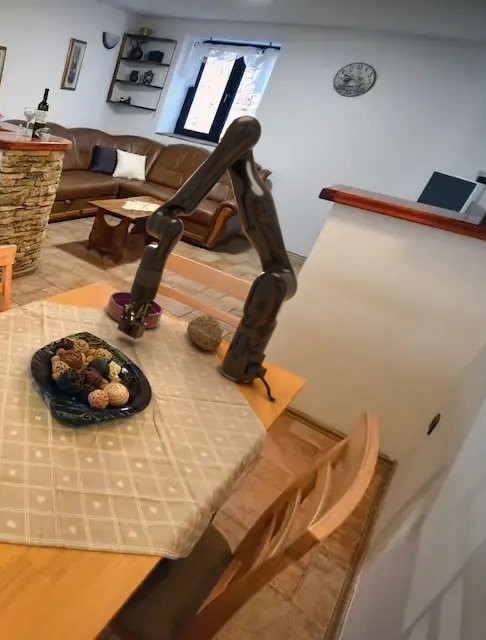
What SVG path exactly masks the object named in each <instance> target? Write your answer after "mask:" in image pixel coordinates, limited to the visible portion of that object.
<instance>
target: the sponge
mask: <svg viewBox="0 0 486 640" xmlns="http://www.w3.org/2000/svg"><path fill="white" fill-rule="evenodd" d="M186 330H187V331H186V332H187V334H188V336H189V337H190V338H191V339H192V341H194V343H195V344H196V345H197V346H198V347H200V348H201V349H203V350H206V351H214V350H216V349H218V348H219V347H220V345H221V343H222V339H223V338H222V335H223V333H224V330H225V328H224V326H223V324H222V323H221V322H220V321H219V320H217V319H216V318H214V316H211V315H208V314H205V315H202V316H200V315H199V316H197V317H195V318H193V319H192V320H191V321H190V322H189V323H188V325H187V329H186Z"/></svg>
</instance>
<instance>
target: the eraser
mask: <svg viewBox="0 0 486 640" xmlns="http://www.w3.org/2000/svg"><path fill="white" fill-rule="evenodd" d="M132 318H133V317H132ZM132 318H131V320H132ZM125 324H126V322H124V321H122V316H121V318H120V322H118V324H117V325H118V326H117V329H116V330H117V331H119V332H121V333H123V330H124V327H125ZM146 325H147V324H146V323H144V322H142V321H140V320H138V319H137V318H136V319H135V321H134V323H133V327H132V330H131V333H130V335H127V336H129V337H130V338H132V339H134V340H138V339H140V338H143V336H144V333H145V331H146V329H147V328H146ZM145 328H146V329H145Z"/></svg>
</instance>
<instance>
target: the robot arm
mask: <svg viewBox="0 0 486 640" xmlns="http://www.w3.org/2000/svg"><path fill="white" fill-rule="evenodd" d="M261 135H262V125H261V122H260V121H259V120H258V119H257V118H256V117H254V116H252V115H241V116H238V117H235V118H234V119H233V120H232V121H230V122H229V123H228V125H227V126H226V127H225V129H224V130H223V131H222V133H221V135H220V136H219V139H218V140H219V141H218V144H217V145H216V147H215V148H214V149H213V151H212V152H211V154H210V155H208V157H207V158H206V159H205V161H204V162H203V163H202V164H201V165H200V166H199V167H198V168H197V169H196V171H194V173H193V174H191V176H190V177H189V178H188V179H187V180H186V181H185V183H184V184H183V185H182V186H181V187H180V188H179V189H178V191H176V193H175V195H173V197H171V198H170V199H168V200H167V201H165V202H164V203H163V204H161V205H160V206H159V207H158V208H156V209H155V210H154V211H153V212H152V213H150V215H149V216H148V218H147V220H146V224H145V229H146V232H147V234H149V235H150V236H152V237H154V238H156V239H159V242H158V243H157V245H156V244H149V245H146V246H145V248H144V250H143V253H142V256H141V259H140V262H139V265H138V267H137V269H136V272H135V275H134V278H133V281H132V284H131V288H130V293H131V294H132V296H133V298H132V300H131V302H130V304H129V305H128V306H127V305H124V307H123V316H122V321H124V322H126V324H125V327H124V330H123V332H122V333H123V334H125V335H126V336H128V335H130V333H131V330H132V327H133V323H134V321H135V319H136V318H137V319H138V320H140V321H143V320H144V318H147V317H148V315H149V313H150V311H151V309H152V307H153V305H154V303H155V301H156V300H155V299H156V298H157V294H158V291H159V289H160V285H161V283H162V279H163V275H164V271H165V268H166V265H167V261H168V259H169V257H170V256H171V254H172V252H173V251H174V249H175V248H176V247H177V245H178V244H179V242H180V240H181V239H182V237H183V234H184V230H185V227H184V223H183V221H182V220H181V219H180V218H178V217H181V216H182V217H183V216H184V217H189V216H191V215H192V214H193V213H194V212H195V211H197V209H198V208H199V207H200V206H201V204H202V203H203V202H204V201H205V200H206V199H207V198H208V196H209V195H210V193H211V192H212V191H213V189H214V188H215V187H216V185H217V184H218V183H219V182H220V180H221V179H222V178H223V176H224V175H225V174H226V173H227V172H228V175H229V178H230V182H231V186H232V187H231V188H232V192H233V196H234V199H235V204H236V210H237V213H238V218H239V221H240V225H241V228H242V230H243V233H244V235H245V237H246V238H247V240H248V241H249V243H250V244H251V246H252V247H253V249H254V250H255V252H256V254H257V256H258V258H259V261H260V265H261V270H262V272H261V273H260V274H258V275H257V276H256V277H255V279H254V280H253V282H252V284H251V286H250V288H249V291H248V292H247V296H246V298H245V301H244V303H243V307H242V316H241V317H240V320H239V322H238V325H237V327H236V329H235V332H234V333H233V336H232V338H231V341H230V343H229V346H228V348H227V350H226V353H225V354H224V358H223V360H222V361H221V364H220V366H219V368H218V371H219V372H220V374H222V375H223V376H224V377H225V378H227V379H229V380H231V381H233V382H235V383H236V384H253V383H254V382H255V380H256V379H260V380H261V382H262V384H263V385H264V386H265V388H266V394H267V397H268V399H269V400H270V401H272V402H275V401H276V398H274V397H273V396H272V393H271V388H270V385H269V383H268V382H267V381H266V379H265V376H266V374H267V372H268V369H267V368H266V367H265V366H264V365H263V364H264V361H265V359H266V356H267V355H266V354H265V352H266V350H267V347H268V345H269V343H270V340H271V339H272V337H273V335H274V333H275V330H276V328H277V326H278V323H279V321H278V318H277V316H278V314H279V311H280V309H281V307H282V305H283V303H285V302H288V301H290V300H291V299H293V298H294V297H295V295H296V293H297V291H298V287H299V283H298V279H297V275H296V272H295V270H294V267H293V266H292V262H291V260H290V257H289V255H288V252H287V248H286V245H285V241H284V236H283V232H282V228H281V224H280V221H279V215H278V210H277V208H276V202H275V199H274V196H273V194H272V192H271V190H270V188H269V187H268V186H267V184H266V183H265V181H264V180H263V179H262V177H261V176H260V174H259V171H258V169H257V166H256V161H255V155H254V150H253V149H254V148H255V147H256V146H257V144H258V143H259V141H260V139H261ZM153 300H154V301H153ZM148 306H149V307H148ZM132 312H133V313H135V314H136V315H135V314H133V313H132ZM132 317H133V318H132ZM131 318H132V320H131Z"/></svg>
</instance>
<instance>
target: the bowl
mask: <svg viewBox="0 0 486 640" xmlns="http://www.w3.org/2000/svg"><path fill="white" fill-rule="evenodd" d="M132 298H133V296H132V294H131V292H129V291H115V292H113V293H111V294H110V296H109V299H108V302H107V307H106V313H107V314H108V315H109V316H110V317H111V318H112V319H113V320H115V321H116V322H117V323H119V322H120V318H121V316H123V307H124V305H127V306H128V305H129V304H130V302H131V300H132ZM153 301H155V303H154V305H153V307H152V309H151V311H150V313H149V315H148V317H147V318H144V320H143V321H142V322H144V323H146V324H147V325H146V328H145V330H146V329H152V328H155V327H157V326H158V325H159V323H160V321H161V318H162V315H163V313H164V311H163V310H164V308H163V306H162V305H161V304H159V302H158V301H156V300H155V299H154V300H153ZM148 307H149V306H148ZM132 313H133V312H132ZM133 314H135V313H133ZM135 315H136V314H135Z"/></svg>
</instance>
